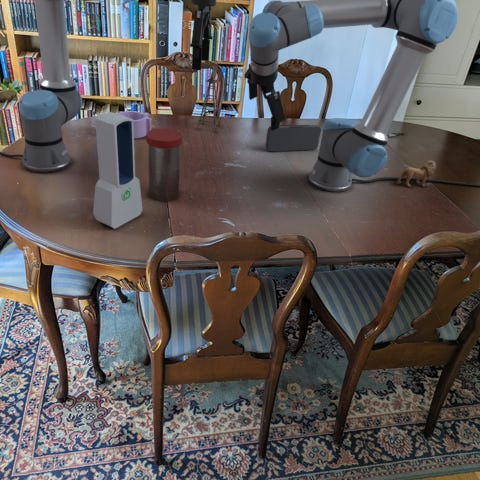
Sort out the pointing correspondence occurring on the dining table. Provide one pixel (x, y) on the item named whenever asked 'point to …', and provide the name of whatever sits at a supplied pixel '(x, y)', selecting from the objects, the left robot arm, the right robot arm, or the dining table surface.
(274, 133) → the handheld gaming console
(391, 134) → the sword
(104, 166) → the electronic device
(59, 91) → the left robot arm
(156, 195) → the jar
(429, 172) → the lion figurine
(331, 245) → the dining table surface
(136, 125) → the clip
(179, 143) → the lid
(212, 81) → the dark tall lattice tower
